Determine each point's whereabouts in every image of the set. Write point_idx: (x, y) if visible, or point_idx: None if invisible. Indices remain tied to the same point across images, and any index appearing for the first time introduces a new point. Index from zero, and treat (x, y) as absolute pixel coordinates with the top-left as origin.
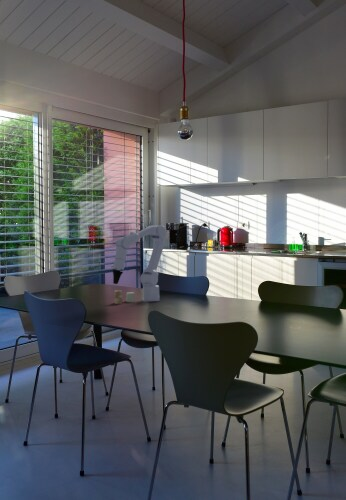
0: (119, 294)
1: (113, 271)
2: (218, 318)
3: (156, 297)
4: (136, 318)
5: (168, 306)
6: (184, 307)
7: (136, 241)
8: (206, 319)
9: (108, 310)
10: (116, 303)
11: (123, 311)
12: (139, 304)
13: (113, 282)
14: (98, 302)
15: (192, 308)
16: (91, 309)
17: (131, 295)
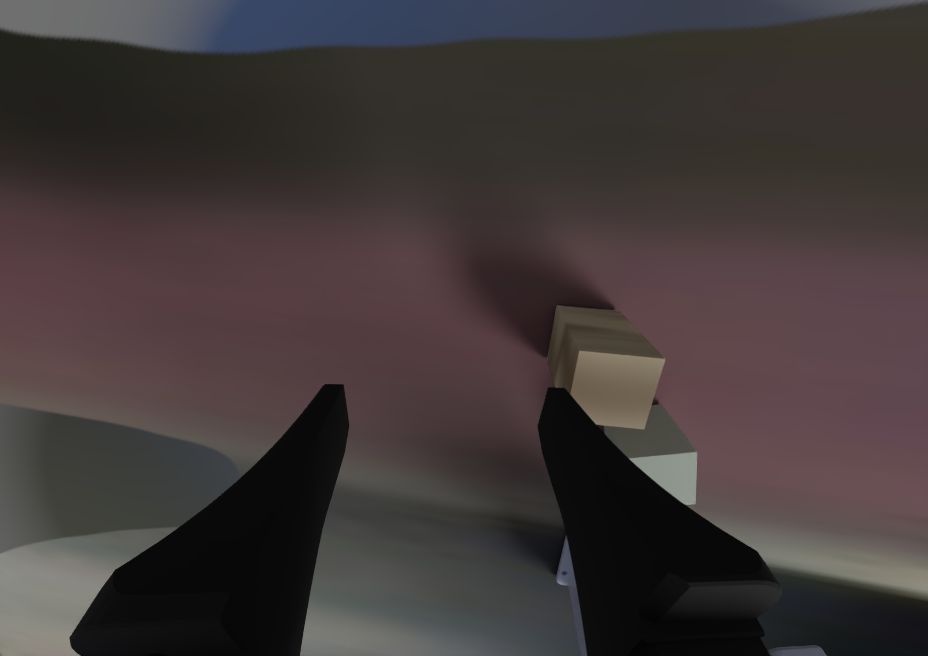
0: (562, 380)
1: (123, 567)
2: (60, 647)
3: (574, 590)
4: (4, 368)
5: (365, 575)
6: (320, 621)
7: None
8: (34, 613)
9: (282, 222)
10: (555, 318)
11: (231, 326)
12: (483, 461)
13: (554, 396)
14: (740, 158)
15: None
16: (354, 60)
17: None
